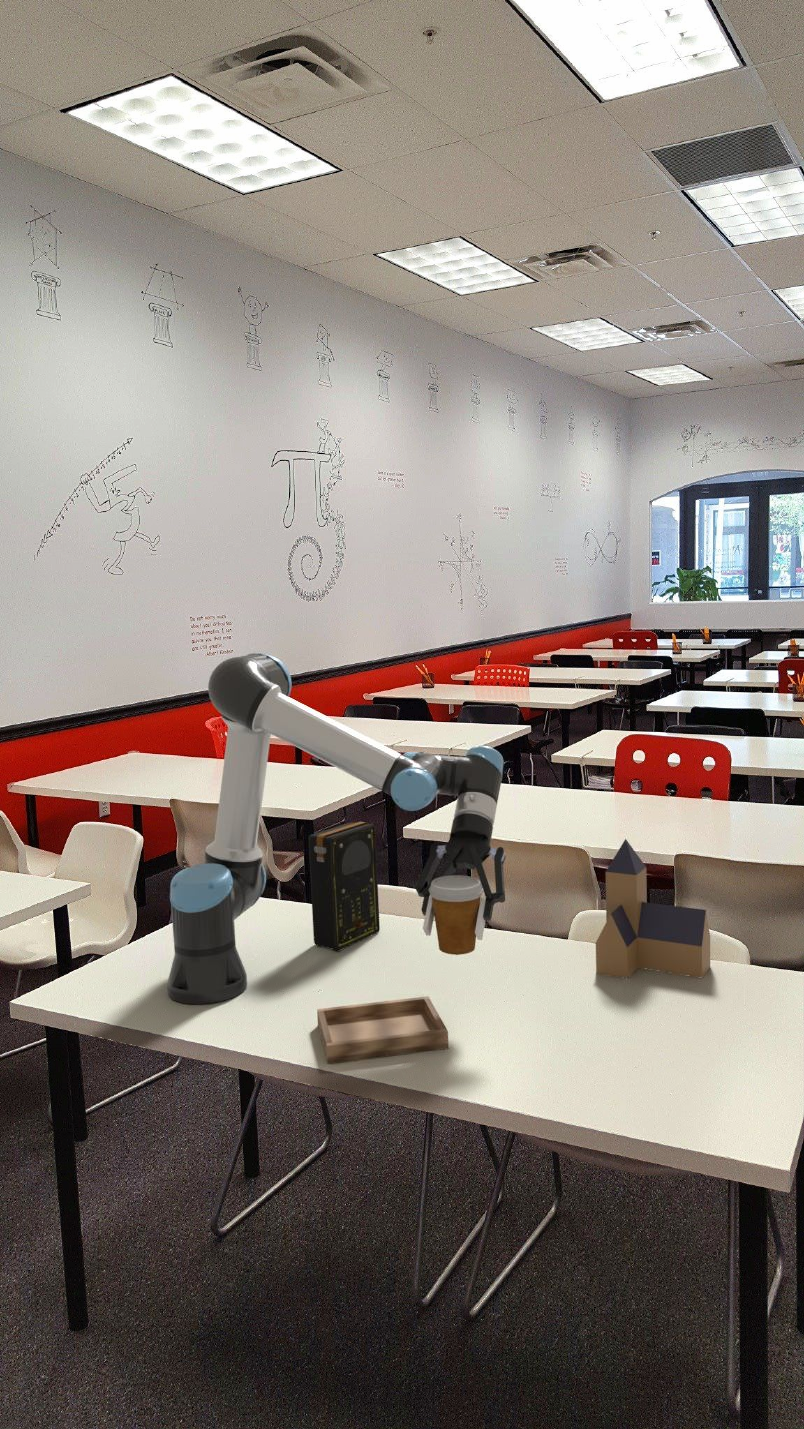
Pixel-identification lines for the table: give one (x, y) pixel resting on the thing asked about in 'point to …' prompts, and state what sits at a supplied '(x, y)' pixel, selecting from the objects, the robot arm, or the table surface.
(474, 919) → the disposable coffee cup
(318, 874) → the voltmeter
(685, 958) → the model church
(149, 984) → the table surface
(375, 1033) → the trough tray
